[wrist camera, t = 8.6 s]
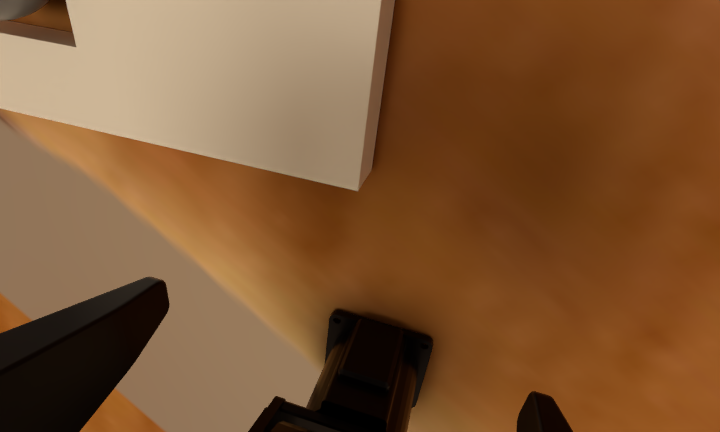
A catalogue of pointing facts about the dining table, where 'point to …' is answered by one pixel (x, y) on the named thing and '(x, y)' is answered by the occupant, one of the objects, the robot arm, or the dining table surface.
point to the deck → (214, 78)
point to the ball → (19, 8)
